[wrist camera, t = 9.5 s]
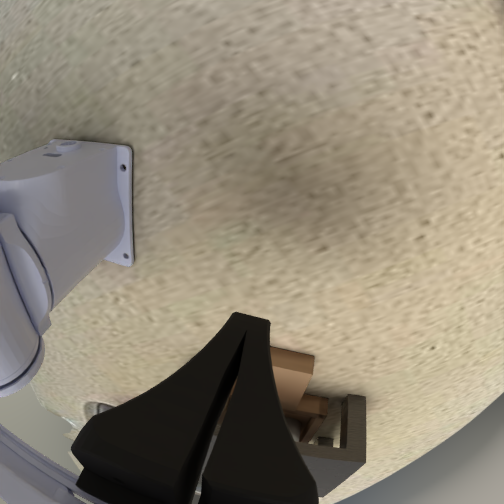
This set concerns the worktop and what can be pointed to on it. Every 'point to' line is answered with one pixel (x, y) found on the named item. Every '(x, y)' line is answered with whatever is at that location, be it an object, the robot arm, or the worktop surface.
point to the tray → (295, 394)
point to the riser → (332, 448)
